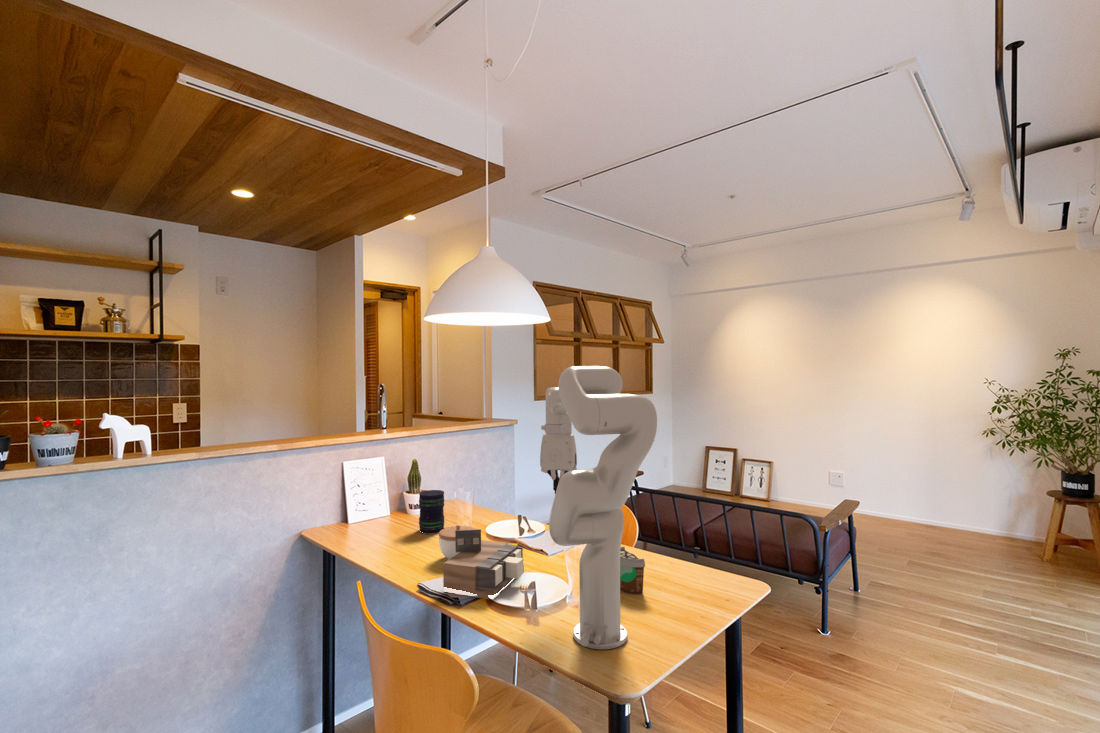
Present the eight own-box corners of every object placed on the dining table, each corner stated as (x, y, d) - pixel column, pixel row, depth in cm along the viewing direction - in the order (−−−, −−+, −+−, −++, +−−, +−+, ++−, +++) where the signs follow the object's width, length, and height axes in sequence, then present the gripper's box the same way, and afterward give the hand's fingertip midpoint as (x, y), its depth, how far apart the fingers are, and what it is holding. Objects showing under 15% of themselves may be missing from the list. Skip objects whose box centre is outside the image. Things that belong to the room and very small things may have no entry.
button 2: (515, 568, 158) (515, 554, 158) (500, 566, 159) (500, 552, 159) (521, 563, 162) (521, 549, 162) (506, 561, 163) (506, 547, 164)
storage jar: (415, 534, 203) (415, 495, 203) (422, 526, 213) (422, 489, 213) (441, 534, 203) (441, 495, 203) (447, 526, 213) (447, 489, 213)
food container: (605, 582, 154) (605, 548, 155) (623, 579, 157) (623, 545, 157) (625, 599, 143) (625, 562, 143) (645, 595, 145) (645, 559, 145)
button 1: (495, 586, 144) (495, 570, 145) (479, 584, 146) (479, 568, 146) (502, 580, 149) (502, 565, 149) (486, 578, 150) (486, 563, 150)
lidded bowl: (432, 557, 176) (432, 524, 177) (464, 549, 185) (464, 518, 185) (450, 568, 167) (450, 533, 167) (484, 559, 175) (484, 525, 175)
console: (493, 600, 143) (492, 545, 143) (438, 591, 148) (438, 539, 149) (523, 571, 163) (523, 524, 164) (475, 565, 169) (475, 519, 169)
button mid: (517, 578, 150) (517, 563, 150) (501, 576, 152) (501, 561, 152) (523, 573, 154) (523, 558, 154) (507, 571, 156) (507, 556, 156)
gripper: (529, 430, 151) (530, 494, 150) (579, 431, 146) (580, 498, 145) (539, 427, 158) (539, 488, 158) (586, 429, 153) (587, 492, 153)
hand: (559, 493), depth 152 cm, fingers closed
